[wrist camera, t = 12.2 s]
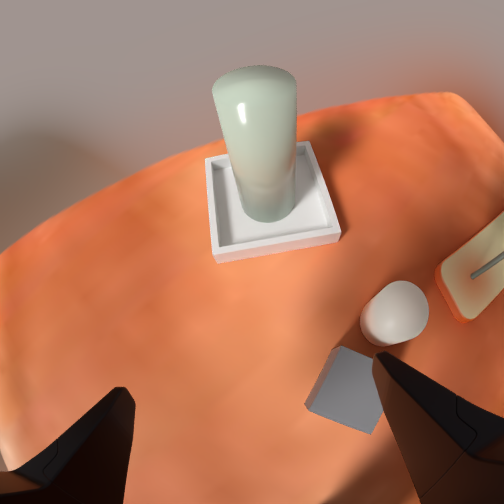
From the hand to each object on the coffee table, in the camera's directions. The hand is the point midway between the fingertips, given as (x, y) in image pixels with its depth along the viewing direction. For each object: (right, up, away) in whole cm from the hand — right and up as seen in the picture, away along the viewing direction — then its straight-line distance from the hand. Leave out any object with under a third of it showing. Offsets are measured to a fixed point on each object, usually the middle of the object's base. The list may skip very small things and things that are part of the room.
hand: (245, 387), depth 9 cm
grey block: (+8, -6, +11) cm, 15 cm away
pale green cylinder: (+2, +10, +18) cm, 21 cm away
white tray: (+2, +9, +19) cm, 21 cm away
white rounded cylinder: (+11, -1, +13) cm, 17 cm away
